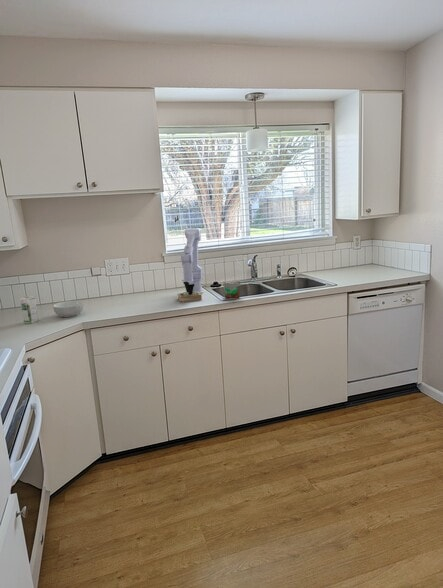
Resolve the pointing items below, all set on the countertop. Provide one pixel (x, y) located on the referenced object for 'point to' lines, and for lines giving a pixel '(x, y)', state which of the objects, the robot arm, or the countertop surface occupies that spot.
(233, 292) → the food container
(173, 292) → the countertop surface
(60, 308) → the cereal bowl
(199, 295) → the box
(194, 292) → the sage crate
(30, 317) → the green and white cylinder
